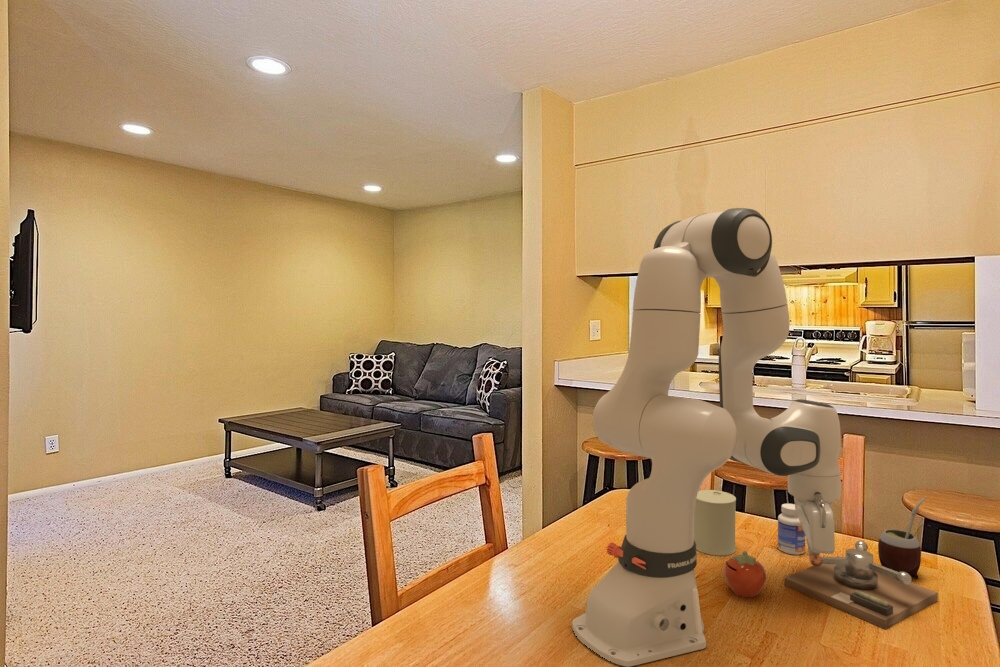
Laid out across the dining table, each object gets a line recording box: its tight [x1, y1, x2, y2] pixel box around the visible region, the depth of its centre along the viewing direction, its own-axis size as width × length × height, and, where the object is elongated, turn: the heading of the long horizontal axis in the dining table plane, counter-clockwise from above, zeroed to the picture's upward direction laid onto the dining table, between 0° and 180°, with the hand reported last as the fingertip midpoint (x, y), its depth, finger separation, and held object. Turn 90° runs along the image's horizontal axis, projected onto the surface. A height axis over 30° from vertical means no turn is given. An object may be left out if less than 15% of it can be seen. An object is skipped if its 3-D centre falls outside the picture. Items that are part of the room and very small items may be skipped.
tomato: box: [723, 550, 767, 599], centre depth 109 cm, size 7×7×8 cm
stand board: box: [783, 555, 939, 630], centre depth 108 cm, size 18×18×4 cm
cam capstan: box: [808, 540, 912, 589], centre depth 108 cm, size 16×14×6 cm
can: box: [694, 489, 737, 557], centre depth 129 cm, size 9×9×12 cm
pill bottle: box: [777, 503, 806, 556], centre depth 127 cm, size 5×5×10 cm
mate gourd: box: [877, 497, 926, 579], centre depth 116 cm, size 8×8×15 cm
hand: (813, 557), depth 110 cm, fingers closed, pressing on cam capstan
